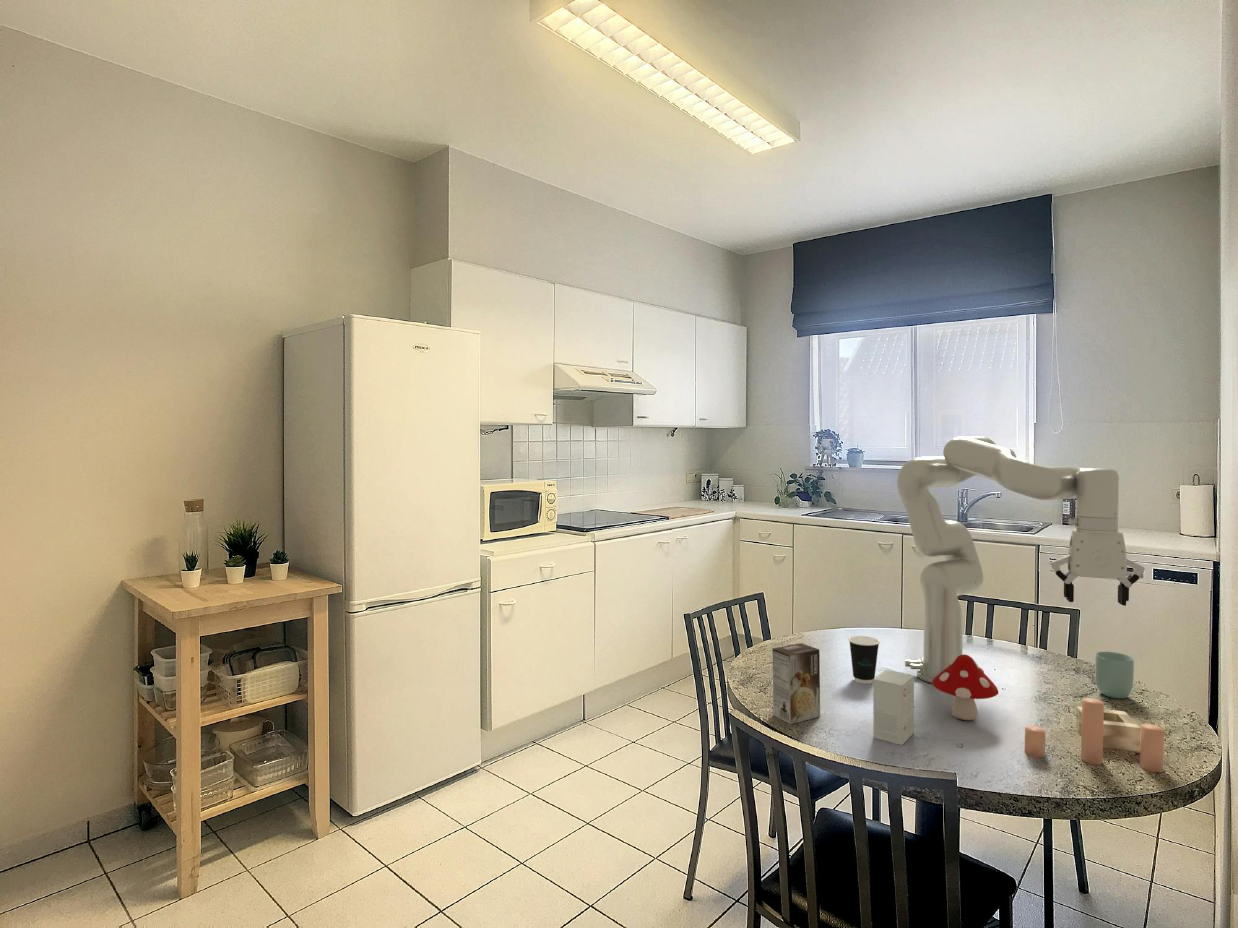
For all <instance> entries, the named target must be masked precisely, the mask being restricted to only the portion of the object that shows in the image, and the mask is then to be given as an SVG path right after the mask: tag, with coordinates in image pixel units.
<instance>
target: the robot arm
mask: <svg viewBox="0 0 1238 928" xmlns="http://www.w3.org/2000/svg"><path fill="white" fill-rule="evenodd" d="M974 476H980V477H982V478H985V479H989V480H991V481H994V482H996V483H997V484H998V485H1000V486H1002V488H1005V489H1006V490H1007V491H1008V490H1009V491H1011V492H1014V493H1016V494H1019V495H1022V496H1025V497H1029V498H1032V499H1036V500H1040V501H1054V500H1056V501H1057V500H1069V499H1071V500H1072V499H1076V505H1075V506H1076V508H1075V509H1076V511H1075V513H1076V514H1075V516H1074V518H1069V519H1068V522H1067V523H1068V525H1069V526H1070V525H1071V526H1074V527H1075V529H1072V532H1071V536H1070V540H1069V547H1068V554H1067V555H1065V556H1062V557H1059V558H1057V559H1054V560H1052V561H1050V562H1049V565H1050V567H1051V569H1052V571H1053V572H1054V574H1055V575H1056V576H1057V577H1058V578H1059V579H1060V580H1061V581H1062V582H1063V597H1064V598H1066V600H1067V601H1068V602H1069V603H1073V602H1074V601H1075V600H1074V599H1075V595H1074V593H1075V585H1074V584H1073V581H1074V580H1076V579H1077V578H1078V577H1080V578H1093V579H1096V578H1097V579H1108V580H1109V579H1110V580H1111V579H1112V580H1113V579H1115V580H1117V581H1118V582H1119V584H1118V585H1117V603H1118V604H1119V605H1121V606H1124V607H1126V606H1127V602H1129V601H1130V588H1131V587H1132V585H1133V584H1135V583H1136V582H1137V581H1138V580H1140V577H1141V576H1142V575H1143V573H1144V572H1145V569H1146V568H1145V567H1144V566H1142V565H1140V564H1138V563H1136V562H1134V561H1132V560H1130V559H1127V549H1126V543H1125V542H1126V541H1125V537H1124V533H1123V532H1122V531H1119V528H1118V527H1119V487H1120V486H1119V483H1120V482H1119V481H1120V480H1119V479H1120V477H1119V473H1118V471H1117V470H1115V469H1113V468H1105V467H1104V468H1102V467H1086V468H1084V467H1078V466H1073V465H1072V466H1071V465H1065V466H1064V465H1063V466H1062V465H1057V466H1056V465H1055V466H1042V465H1038V464H1034V463H1030V462H1027V461H1024V460H1021V459H1018V458H1017V454H1016V453H1015V452H1014V450H1013V449H1011V448H1008V447H1004V446H1001V445H997V444H996V443H995V441H994V440H993V439H990V438H988V437H987V436H981V435H979V436H978V435H977V436H969V435H968V436H965V435H964V436H957V437H954V438H952V439H950V440H949V441H948V442H947V443H946V444H945V445H944V447H943V452H942V456H921V457H920V456H919V457H915V458H912V459H910V460H908V461H907V462H905V463H904V464H903V466H901V468H900V469H899V472H898V475H897V481H896V484H897V491H898V494H899V496H900V499H901V501H902V504H903V506H904V509H905V513H906V515H907V520H908V523H909V526H910V529H911V534H912V537H913V539H914V543H915V547H916V549H917V551H918V553H920V554H921V555H922V556H923V557H925V558H926V557H927V558H938V557H944V559H945V560H942V561H941V560H940V561H936V562H932V563H930V564H928V565H926V566H925V567H924V568H923V570H922V571H921V572H920V576H919V577H920V580H919V583H920V584H919V585H920V589H921V592H922V600H923V602H922V603H923V656H921V659H917V660H913V659H904V667H907V668H910V670H916V674H917V677H918V678H919V679H920V680H922V681H924V682H927V683H929V684H932V681H933V679H934V678H935V677H936V676H937V675H938V674H939V673H941V672H942V671H943V670H944V669H946V668H947V667H948V666H949V665H950V664H951V661H952V660H953V659H954V658H955V657H958V656H960V655H963V643H964V641H963V640H964V637H963V635H964V633H963V632H964V631H963V629H964V615H963V608H962V605H961V604H960V601H959V597H958V596H963V595H964V596H965V595H968V594H970V595H971V594H973V593H976V592H977V591H978V590H980V588H981V587H982V586H983V583H984V574H983V569H982V565H981V562H980V558H979V555H978V553H977V552H978V551H977V549H976V545H975V542H974V540H973V536H972V534H971V533H970V531H969V529H968V528H967V527H966V526H965V525H964V524H963V523H961V522H959V521H956V520H945V519H944V517H943V515H942V512H941V508H940V505H939V502H938V501H937V499H936V498H935V496H933V494H932V493H931V491H929V490H930V489H931V488H947V487H948V488H949V487H954V486H957V485H959V484H961V483H963V482H965V481H967V480H969V479H970V478H973V477H974ZM1066 564H1067V570H1068V572H1066V573H1064V572H1063V571H1062V570H1061V568H1060V567H1061V566H1062V565H1066ZM1128 567H1129V568H1132V569H1133V571H1132V573H1130V574H1129V575H1128V576H1127V573H1128Z"/></svg>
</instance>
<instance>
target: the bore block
mask: <svg viewBox="0 0 1238 928" xmlns="http://www.w3.org/2000/svg"><path fill="white" fill-rule="evenodd" d="M1075 721H1076V726H1075V729H1076V730H1077V731H1078V733H1079V735H1081V728H1082V706H1076V720H1075ZM1140 738H1141V726H1140V725H1138V724H1137V723H1136V722H1135V720H1133V719H1132V718H1131V717H1130V715H1129V714H1128V713H1127V712H1126V711H1122V710H1114V709H1113V710H1112V709H1105V708H1104V722H1103V749H1112V750H1113V749H1114V750H1122V751H1129V752H1138V753H1140Z"/></svg>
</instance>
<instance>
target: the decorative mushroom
mask: <svg viewBox="0 0 1238 928" xmlns="http://www.w3.org/2000/svg"><path fill="white" fill-rule="evenodd" d="M931 684H932V687H934V688H935V689H937V690H938V691H940V692H941V693H944V694H945V695H949V696H952V697H954V698H953V700H952V704H951V709H950V712H951V714H952V716H954V717H955V718H957V719H959V720H961V721H972V720H973V721H974V720H975V719H977V717H978V715H979V714H978V713H979V712H978V708H977V704H976V701H975V700H987V699H992V698H993V697H997V696H998V695H999V688H998V687H997V686H996V685H995V683H994V682H993V681H992V679H990V678H989V676H987V675H986V673H985V671H984V669H983V668H982V667H979V664H978V663H977V662H976V660H975V659H974V658H973V657H971V656H970V655H968V654H962V655H960V656H958V657H955V658H954V659H953V660H952V661H951V664H950V665H949V666H948V667H947V668H946V669H944V670H943V671H942V672H941V673H939V674H938V675H937V676H936V677H935V678H934V679H933V681H932V683H931Z"/></svg>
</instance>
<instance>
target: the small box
mask: <svg viewBox="0 0 1238 928" xmlns="http://www.w3.org/2000/svg"><path fill="white" fill-rule="evenodd" d="M872 685H873V686H872V687H873V688H872V690H873V693H872V694H873V695H872V699H873V705H872V706H873V707H872V708H873V713H872V714H873V715H872V716H873V717H872V718H873V719H872V720H873V729H872V730H873V732H872V733H873V734H872V736H873V738H874V739H877V740H881V741H885V742H889V743H891V744H896V745H900V746H903V745H904V744H905V743H906V742H907V741H908V740H909V739H910V738H911V737H912V735H913V734H914V733H915V730H914V729H915V716H914V715H915V707H914V706H915V675H913V674H909V673H905V672H901V671H896V670H889V669H885V670H884V671H882V672H880V674H878V675H877V676H875V678H874V679H873V683H872Z"/></svg>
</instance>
